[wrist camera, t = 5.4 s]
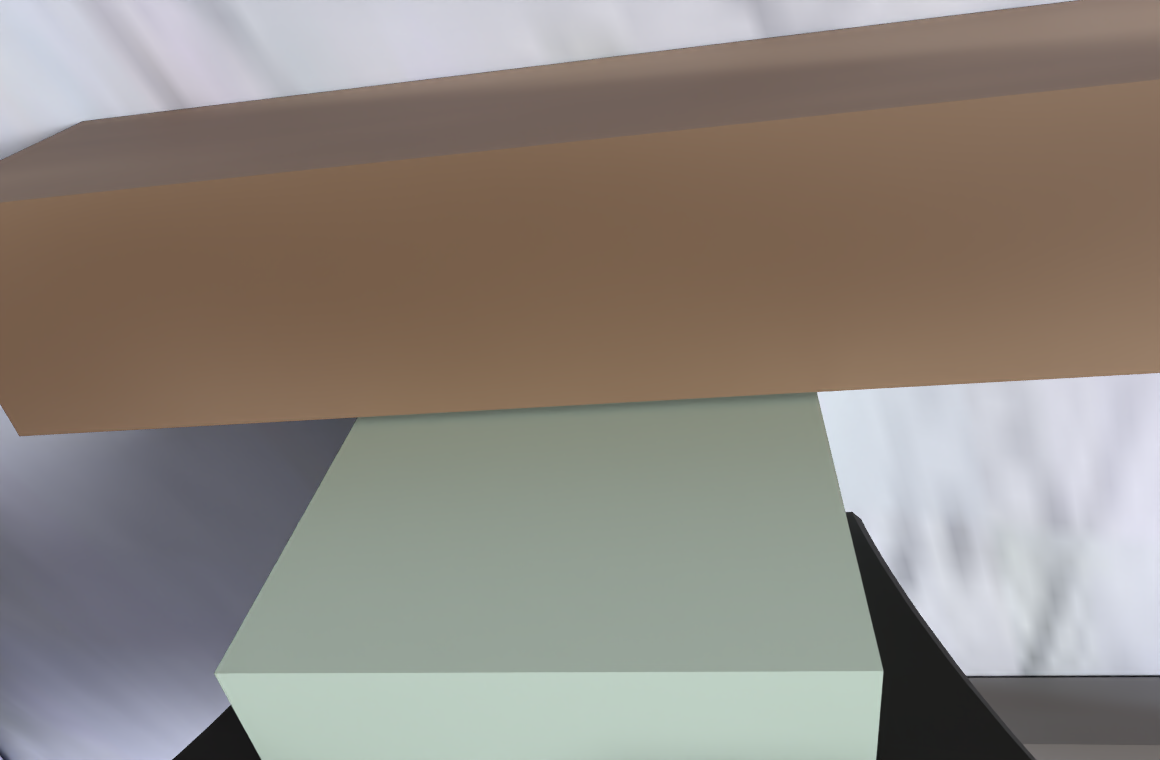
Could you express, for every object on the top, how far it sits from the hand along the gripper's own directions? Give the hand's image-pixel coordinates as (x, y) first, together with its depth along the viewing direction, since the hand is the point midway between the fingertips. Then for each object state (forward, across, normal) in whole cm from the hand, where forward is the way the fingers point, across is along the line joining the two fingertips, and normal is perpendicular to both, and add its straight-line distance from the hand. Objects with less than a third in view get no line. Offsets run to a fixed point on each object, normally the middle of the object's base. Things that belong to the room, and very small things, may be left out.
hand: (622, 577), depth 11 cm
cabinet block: (+2, 0, 0) cm, 2 cm away
